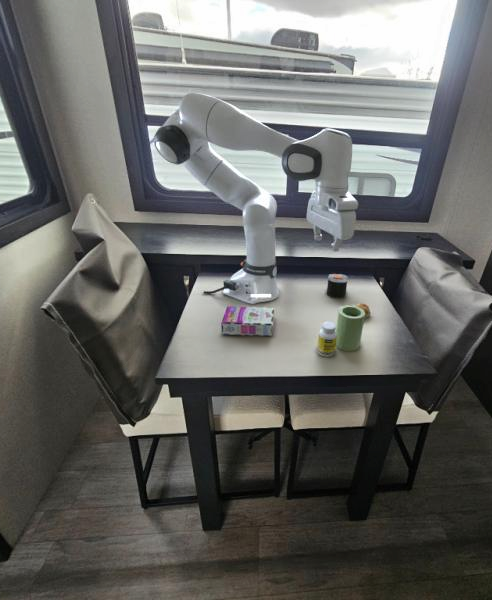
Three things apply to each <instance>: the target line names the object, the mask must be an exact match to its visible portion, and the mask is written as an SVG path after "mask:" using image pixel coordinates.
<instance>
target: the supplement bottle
mask: <svg viewBox="0 0 492 600" xmlns="http://www.w3.org/2000/svg"><path fill="white" fill-rule="evenodd" d="M336 328H337V324H335V323H334V322H332V321H325V322H323V323H322V327H321V329H320V330H319V333H318V340H317V341H318V342H317V353H318V354H319V355H320V356H323V357H331V356H333V355H334V354H335V352H336V347H337V346H336V340H337V332H336Z"/></svg>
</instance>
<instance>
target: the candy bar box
mask: <svg viewBox="0 0 492 600" xmlns="http://www.w3.org/2000/svg"><path fill="white" fill-rule="evenodd" d="M274 322H275V307H265V306H264V307H263V306H235V305H233V306H231V305H230V306H229V305H227V306H226V309H225V312H224V313H223V317H222V319H221V323H220V325H221V326H220V328H221V335H222V336H250V337H251V336H253V337H255V336H256V337H273V335H274V334H273V333H274Z"/></svg>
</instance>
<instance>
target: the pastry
mask: <svg viewBox="0 0 492 600" xmlns="http://www.w3.org/2000/svg"><path fill="white" fill-rule="evenodd" d="M354 306H357V307H360V308H361V309H363V310H364V311H365V318H368V317H369V316H371V314H372V313H371V309H370V306H368V305H367V304H366V303H363V302H362V303H361V302H360V303H359V304H355V305H354Z"/></svg>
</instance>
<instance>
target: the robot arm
mask: <svg viewBox="0 0 492 600" xmlns="http://www.w3.org/2000/svg"><path fill="white" fill-rule="evenodd" d="M210 143H211V144H213V145H215V146H217V147H219V148H222V149H225V150H230V151H236V152H239V151H241V152H242V151H257V152H263V153H268V154H270V155H273V156H275V157H277V158H281V168H282V170H283V173H284V174H285V175H286V177H288V178H289V179H291V180H292V181H297V182H306V181H310V180H314V182H315V189H314V191H313V192H312V193H311V194H310V198H309V200H308V203H307V209H306V221H307V222H308V223H309V224H311V225H312V229H313V232H314V240H315V241H316V242H321V241H322V240H323V234H322V231H324V232H325V233H327V234H330V235H331V236H333V241H334V242H333V243H331V244H330V250H331V251H333V252H339V250H340V245H341V244H342V242H343V241H345V240H351V239H352V238H353V236H354V234H355V230H356V229H355V228H356V223H357V222H356V221H357V214H356V211H355V210H357V209H358V208H359V202H358V200H357V199H356V198H355V197H354V196H353V195H352V194H351V192H350V191H349V175H350V172H351V169H352V160H353V140H352V138H351V136H350V135H349V134H348V133H346V132H344V131H341V130H338V129H334V128H329V127H328V128H323V129H322V130H321V131H320V132H318V133H317V134H315V135H313V136H311V137H309V138H306V139H302V140H300V139H297V138H295V137H292V136H290V135H287V134H285V133H282V132H281V131H278V130H276V129H273V128H271V127H269V126H267V125H265V124H264V123H262V122H260V121H259V120H257V119H256V118H254V117H252V116H250V115H249V114H247V113H245V112H244V111H243V110H241V109H239V108H237V107H236V106H234V105H233V104H231V103H228V102H226V101H224V100H222V99H219V98H217V97H214V96H212V95H208V94H203V93H199V92H188V93H186V94H185V95H184V96H183V97H182V98H181V100H180V102H179V106H178V108H177V109H176V110H174V111H173V112H172V113H171V114H170V116H169V117H168V118H167V119H166V121H164V123H163V124H162V126H160V127H159V128H158V129H157V131H156V132H155V134H154V136H153V144H154V147H155V150H157V152H158V154H159V155H160V156H161V157H162V158H163V159H164V160H166V161H167V162H169V163H170V164H174V165H177V166H178V165H182V164H183V165H184V167H185V168H186V170H187V171H188V172H189V173H190V174H191V175H192V177H194V178H195V179H196V180H197V181H198V182H199V183H200V184H202V185H203V186H204V187H205V188H207V190H209V191H211V192H212V193H213V194H214V195H215V196H216V197H218V198H219V199H220V200H222V201H223V202H224V203H227V204H229V205H231V206H233V207H235V208H237V209H239V210H240V211H242V216H241V217H242V223H243V230H244V231H243V232H244V238H245V249H246V251H245V253H246V258H245V259H244V260H243V261H242V262H241V263H240V267H242V268H241V269H239V270H237V271H236V272H235V273H234V274H232V275H231V276H230V278H229V279H226V280H223V286H222V287H220V288H217V289H214V290H209V291H208V290H207V291H206V290H204V291H203V294H206V295H211V294H216V293H218V292H221V291H223V292H222V293H223V294H224V295H226V296H228V297H231V298H233V299H236V300H239V301H242V302H245V303H246V304H249V305H255V304H258V303H265V302H270V301H273V300H276V299H277V298H278V297H279V296H280V291H279V289H278V283H277V272H278V268H277V267H278V265H277V260H276V255H277V254H276V251H277V250H276V249H277V248H276V247H277V240H276V215H277V213H278V203H277V201H276V198H274V196H273V195H272V194H271V193H269V192H268V191H266V190H265V189H264V188H262V187H261V186H259V185H258V184H257V183H255V182H253V181H252V180H251V179H249V178H248V177H247V176H245V175H243V174H242V173H241V172H240V171H238V170H237V169H236V168H235V167H234V166H233V165H232V164H230V163H229V162H228V161H227V160H226V159H224V158H223V157H222V156H220V154H218V153H216V152H215V151H214V150H213V149H212V147H211V144H210ZM321 230H322V231H321Z"/></svg>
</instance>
